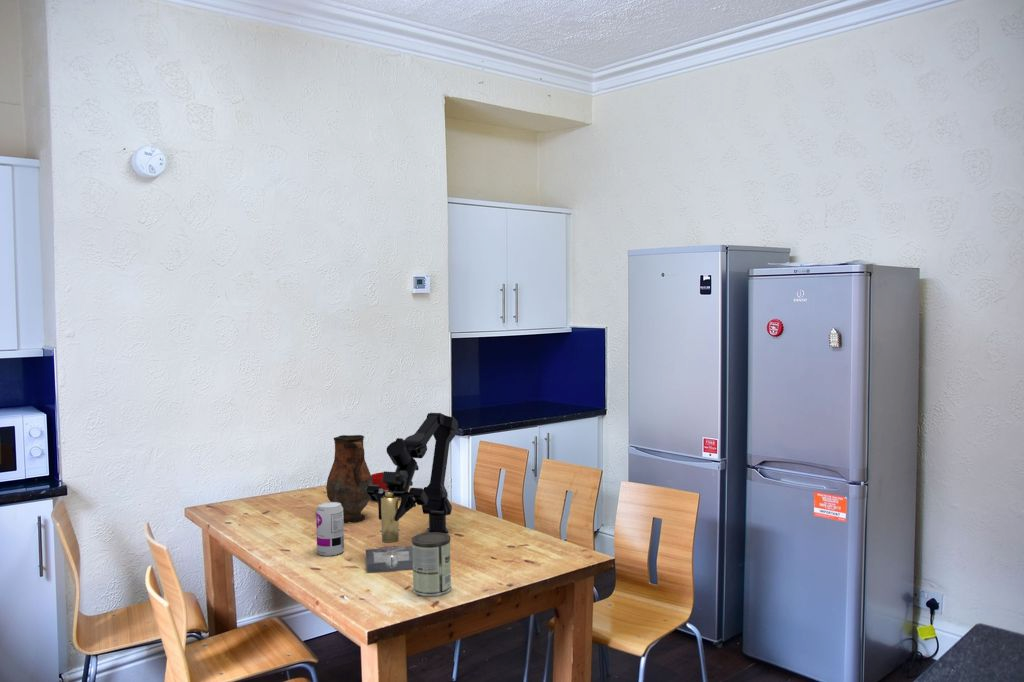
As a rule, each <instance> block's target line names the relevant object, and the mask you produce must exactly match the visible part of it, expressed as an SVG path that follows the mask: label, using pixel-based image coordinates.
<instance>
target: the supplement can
mask: <svg viewBox="0 0 1024 682" xmlns="http://www.w3.org/2000/svg"><path fill="white" fill-rule="evenodd" d="M315 511H316V512H315V513H316V515H315V516H316V517H315V518H316V522H315V523H316V524H315V525H316V552H317V554H319V555H320V556H322V555H323V557H333V556H332V555H334V556H337V554H338V555H341V554H342V553H343V552H344V550H345V535H344V534H345V528H344V527H345V523H344V518H343V507H342V505H341V503H339V502H330V501H326V502H322V503H319V504H318V505H317V507H316V510H315ZM340 553H341V554H340Z"/></svg>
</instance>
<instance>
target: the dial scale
mask: <svg viewBox="0 0 1024 682" xmlns="http://www.w3.org/2000/svg"><path fill="white" fill-rule="evenodd" d="M365 562H366V563H365V564H366V573H381V572H392V571H393V572H394V571H404V570H405V571H406V570H413V554H412V546H411V545H409V546H398V545H397V546H396V545H388V546H381V547H378V548H371V549H369V548H367V549H365Z"/></svg>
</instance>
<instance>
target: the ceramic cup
mask: <svg viewBox="0 0 1024 682" xmlns="http://www.w3.org/2000/svg"><path fill="white" fill-rule="evenodd" d="M383 472H384V471H382V472H377V473H373V474H371V476H372V481H373V485H380V487H381V488H382V489H384V490H389V488H387V487H386V483H384V482H382V478H383Z"/></svg>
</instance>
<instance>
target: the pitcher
mask: <svg viewBox="0 0 1024 682" xmlns="http://www.w3.org/2000/svg"><path fill="white" fill-rule="evenodd" d="M364 439H365V435H362V434H352V435H351V434H350V435H349V434H348V435H347V434H343V435H338V436H335V437H333V439H332V440H334V457H333V458H334V459H333V462H332V463H333V464H332V465H331V468H330V471H329V474H328V476H327V481H326V486H325V487H326V488H325V490H326V496H327V497H326V498H327V499H328V501H329V502H339V503H341V505H342V507H343V518H344V522H354V523H359V522H361V520H362V521H363V519H364V520H365V518H366V517H365V515H364V514H363V513H362V511H363V510H364V508H366V507H367V505H368V503H369V502H370V501H371V500H370V498H369V497H368V495H367V494H366V493H365V490H366V488H367V486H368V485H373V481H372V476H371V475H372V474H371V471H370V470H369V467H368V465H367V462H366V460H365V458H366V457H365V448H364ZM358 521H359V522H358Z"/></svg>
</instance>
